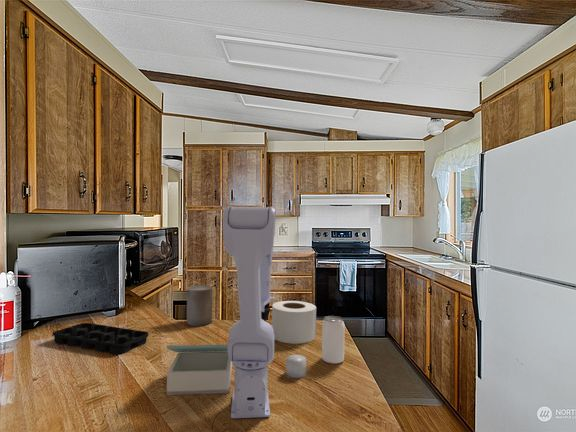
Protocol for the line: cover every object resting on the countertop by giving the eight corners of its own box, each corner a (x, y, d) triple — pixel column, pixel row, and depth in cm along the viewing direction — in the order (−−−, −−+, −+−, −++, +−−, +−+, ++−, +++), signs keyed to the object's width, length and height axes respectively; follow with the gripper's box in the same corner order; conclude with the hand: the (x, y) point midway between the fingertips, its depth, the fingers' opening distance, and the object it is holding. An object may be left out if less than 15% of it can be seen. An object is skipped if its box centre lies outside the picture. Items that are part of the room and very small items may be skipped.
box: (228, 393, 77) (229, 371, 77) (166, 395, 76) (167, 373, 76) (231, 370, 89) (232, 351, 89) (177, 371, 88) (178, 352, 88)
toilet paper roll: (321, 333, 121) (322, 303, 121) (304, 347, 107) (305, 313, 107) (283, 326, 128) (284, 298, 128) (263, 338, 114) (263, 307, 114)
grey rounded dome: (307, 378, 86) (307, 362, 86) (287, 378, 85) (287, 362, 85) (304, 369, 91) (304, 354, 91) (285, 369, 90) (285, 354, 91)
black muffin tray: (77, 332, 118) (78, 321, 118) (158, 337, 114) (158, 326, 114) (34, 351, 100) (35, 338, 100) (128, 357, 97) (128, 344, 97)
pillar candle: (215, 319, 135) (215, 282, 135) (206, 326, 125) (207, 286, 125) (192, 318, 136) (192, 281, 136) (182, 325, 126) (182, 286, 126)
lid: (231, 347, 78) (231, 344, 79) (166, 348, 77) (167, 345, 77) (233, 351, 89) (233, 348, 90) (176, 352, 88) (177, 349, 88)
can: (326, 365, 93) (327, 322, 94) (318, 356, 100) (319, 316, 100) (347, 363, 95) (348, 321, 95) (338, 354, 101) (339, 315, 102)
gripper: (277, 286, 83) (275, 341, 82) (273, 276, 97) (272, 323, 97) (248, 286, 82) (247, 341, 82) (248, 276, 96) (247, 323, 96)
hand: (258, 331), depth 89 cm, fingers open, 3 cm apart
